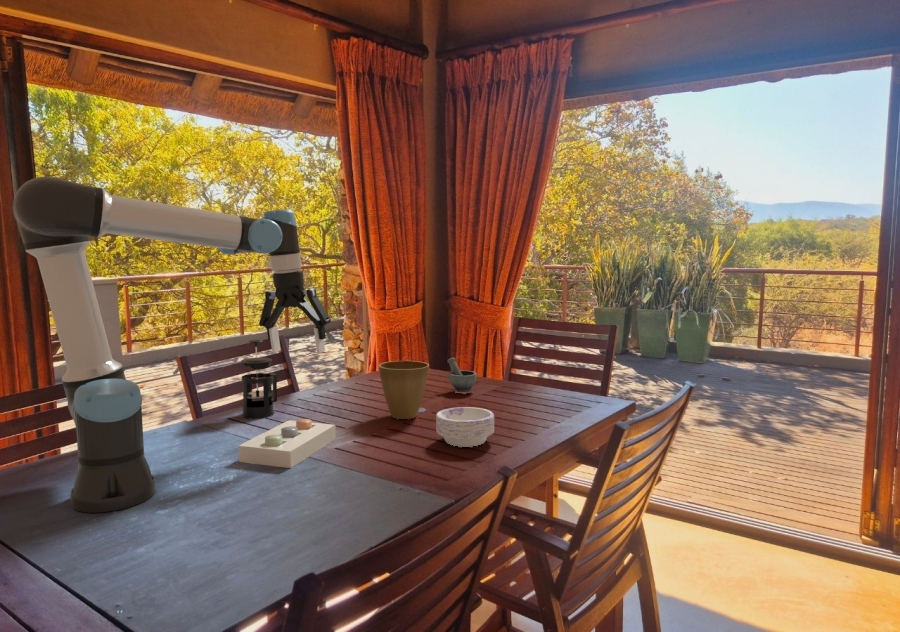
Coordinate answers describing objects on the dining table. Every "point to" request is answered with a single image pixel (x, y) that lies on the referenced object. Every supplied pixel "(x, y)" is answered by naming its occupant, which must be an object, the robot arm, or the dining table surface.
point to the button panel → (287, 445)
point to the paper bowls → (465, 425)
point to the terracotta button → (304, 424)
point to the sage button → (273, 440)
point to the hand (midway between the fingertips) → (298, 351)
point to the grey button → (289, 432)
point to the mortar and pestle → (461, 377)
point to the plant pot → (403, 386)
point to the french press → (261, 406)
